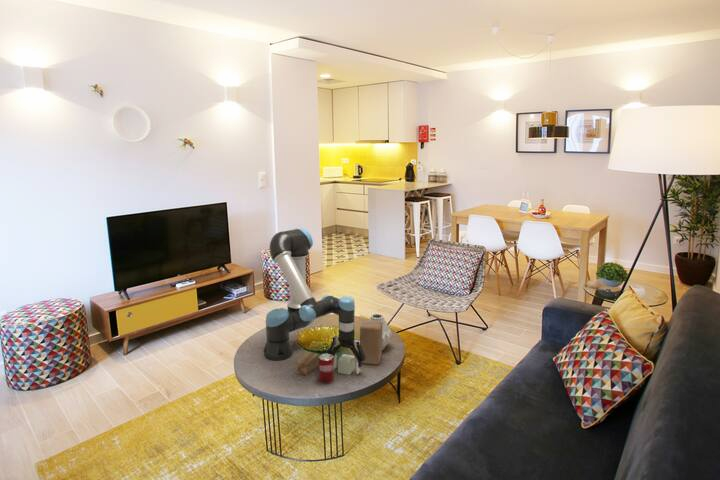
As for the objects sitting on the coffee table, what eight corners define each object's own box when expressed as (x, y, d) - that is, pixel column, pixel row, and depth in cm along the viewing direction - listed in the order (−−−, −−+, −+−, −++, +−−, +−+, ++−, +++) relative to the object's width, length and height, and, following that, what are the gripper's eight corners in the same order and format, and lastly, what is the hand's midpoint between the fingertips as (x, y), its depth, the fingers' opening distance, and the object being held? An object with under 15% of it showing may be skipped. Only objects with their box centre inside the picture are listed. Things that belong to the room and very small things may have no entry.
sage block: (338, 372, 226) (338, 359, 224) (343, 366, 231) (343, 353, 230) (349, 374, 224) (349, 361, 222) (354, 369, 229) (354, 356, 228)
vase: (359, 353, 245) (359, 320, 241) (364, 340, 261) (364, 309, 257) (389, 356, 243) (390, 323, 238) (393, 342, 258) (393, 311, 254)
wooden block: (378, 365, 233) (379, 328, 228) (359, 363, 235) (359, 326, 230) (381, 356, 242) (382, 320, 238) (363, 354, 244) (363, 319, 240)
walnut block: (297, 373, 224) (297, 362, 223) (309, 362, 235) (309, 352, 234) (306, 376, 222) (306, 364, 221) (318, 364, 233) (318, 353, 232)
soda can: (318, 376, 222) (318, 353, 219) (333, 376, 222) (333, 353, 220) (318, 384, 215) (318, 360, 212) (334, 384, 215) (334, 360, 213)
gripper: (320, 327, 224) (321, 368, 228) (367, 336, 215) (366, 378, 220) (327, 322, 230) (327, 362, 235) (372, 330, 221) (372, 371, 226)
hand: (346, 370), depth 227 cm, fingers open, 12 cm apart
